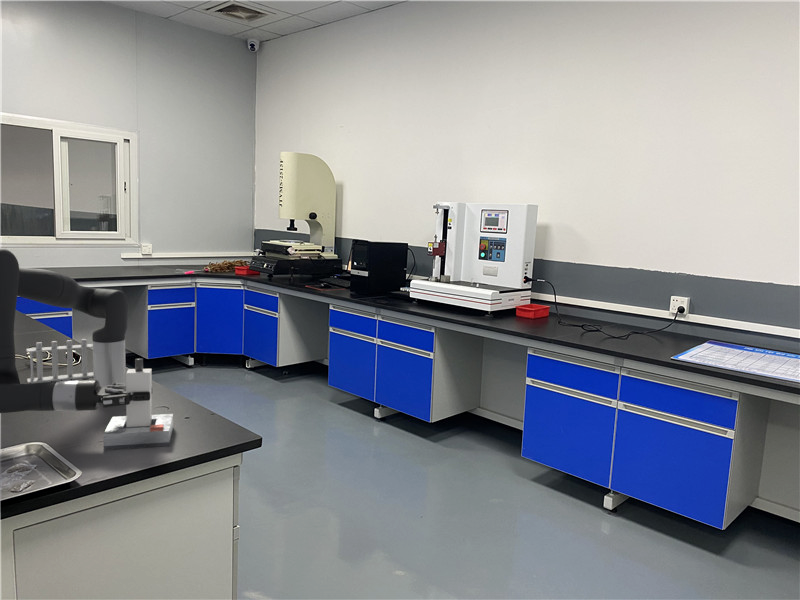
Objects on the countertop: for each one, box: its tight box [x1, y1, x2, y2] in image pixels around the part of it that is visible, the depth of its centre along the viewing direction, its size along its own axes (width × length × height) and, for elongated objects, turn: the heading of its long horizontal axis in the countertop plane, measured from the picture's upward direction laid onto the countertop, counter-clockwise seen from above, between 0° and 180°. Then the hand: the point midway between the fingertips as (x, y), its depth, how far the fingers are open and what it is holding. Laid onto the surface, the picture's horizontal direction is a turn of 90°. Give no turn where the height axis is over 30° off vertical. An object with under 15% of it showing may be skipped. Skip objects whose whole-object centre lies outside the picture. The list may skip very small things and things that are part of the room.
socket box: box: [102, 413, 174, 451], centre depth 153 cm, size 13×15×5 cm
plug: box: [125, 357, 153, 427], centre depth 152 cm, size 4×6×17 cm
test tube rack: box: [25, 338, 93, 384], centre depth 202 cm, size 25×4×13 cm, turn 124°
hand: (150, 393), depth 152 cm, fingers closed on plug, 4 cm apart
